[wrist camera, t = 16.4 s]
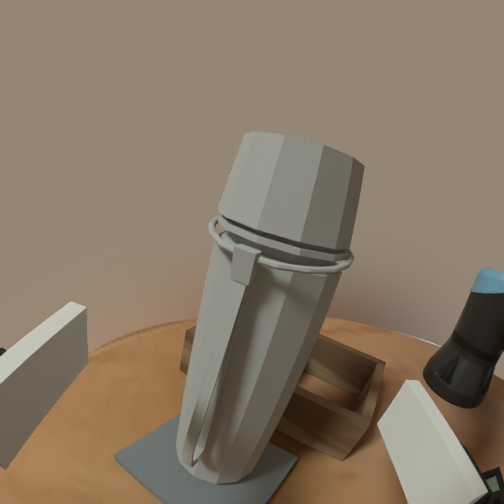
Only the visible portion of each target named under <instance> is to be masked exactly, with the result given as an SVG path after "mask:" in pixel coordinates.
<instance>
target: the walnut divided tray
mask: <svg viewBox="0 0 504 504" xmlns="http://www.w3.org/2000/svg"><path fill="white" fill-rule="evenodd" d="M195 331H196V326H195V327H193V328H190V329H188V330H186V335H185V340H184V346H183V352H182V358H181V364H180V370H181V371H182V372H184V373H185V374H187V373H188V368H189V362H190V357H191V351H192V346H193V341H194V336H195ZM385 364H386V362H384V361H382V360H380V359H377V358H375V357H372V356H370V355H368V354H365V353H363V352H360V351H358V350H356V349H353V348H351V347H349V346H346V345H344V344H342V343H340V342H337V341H335V340H333V339H330V338H328V337H326V336H324V335H321V334H319V335H318V337H317V340H316V342H315V344H314V347H313V349H312V351H311V354H310V356H309V358H308V361H307V363H306V365H305V368H304V370H303V371H305V372H307V373H309V374H311V375H313V376H315V377H318V378H320V379H322V380H324V381H326V382H328V383H331V384H333V385H335V386H337V387H340V388H342V389H344V390H346V391H349V392H351V393H353V394H356V395H358V399H357V402H356V404H355V407H354V409H353V411H351V410H349V409H346V408H344V407H342V406H339V405H337V404H335V403H333V402H331V401H328V400H326V399H324V398H322V397H320V396H318V395H315V394H313V393H311V392H309V391H307V390H305V389H303V388H301V387H299V386H297V385H296V387H295V390H294V392H293V394H292V396H291V398H290V400H289V402H288V404H287V406H286V408H285V410H284V412H283V414H282V416H281V418H280V420H279V422H278V424H277V426H276V428H275V430H277V431H279V432H281V433H283V434H285V435H287V436H289V437H291V438H293V439H295V440H297V441H299V442H301V443H303V444H305V445H307V446H309V447H311V448H313V449H316V450H318V451H320V452H322V453H324V454H327V455H329V456H331V457H334V458H336V459H338V460H341V461H343V460H344V458H345V457H346V456H347V455H348V454H349V452H350V451H351V450H352V449H353V447H354V446H355V445H356V444H357V442H358V441H359V440H360V438H361V437H362V436H363V434H364V433H365V432H366V430H367V429H368V428H369V426H370V423H371V420H372V416H373V413H374V409H375V406H376V402H377V398H378V394H379V390H380V386H381V382H382V377H383V373H384V368H385Z"/></svg>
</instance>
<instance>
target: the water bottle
mask: <svg viewBox="0 0 504 504" xmlns="http://www.w3.org/2000/svg"><path fill="white" fill-rule="evenodd" d="M363 173H364V165H363V164H361V163H360V162H359V161H357V160H356V159H355V158H354V157H351V156H349V155H347V154H345V153H342V152H340V151H338V150H335V149H333V148H330V147H327V146H325V145H322V144H319V143H315V142H312V141H308V140H304V139H300V138H296V137H293V136H289V135H284V134H277V133H268V132H259V131H254V132H250V133H246V134H245V136H244V138H243V141H242V144H241V146H240V149H239V152H238V155H237V157H236V160H235V162H234V165H233V168H232V171H231V173H230V176H229V179H228V182H227V185H226V187H225V190H224V193H223V196H222V199H221V202H220V205H219V207H218V211H219V212H220V213H222V214H223V215H220V216H217V217H215V218H214V219H213V220H212V221H211V222H210V223H209V225H208V226H209V233H210V236H211V237H212V238H213V240H214V241H215V242H214V246H213V250H212V255H211V259H210V264H209V268H208V273H207V277H206V282H205V287H204V291H203V297H202V301H201V306H200V311H199V316H198V321H197V326H196V331H195V336H194V341H193V346H192V351H191V357H190V362H189V368H188V373H187V379H186V385H185V390H184V396H183V402H182V408H181V414H180V421H179V427H178V433H177V440H176V449H177V454H178V459H179V462H180V463H181V464H182V465H183V466H184V467H185V469H186V470H187V471H188V472H189V473H190V474H192V475H193V476H194V477H196V478H199V479H202V480H205V481H207V482H210V483H213V484H223V483H232V482H238V481H239V480H241V479H242V478H243V477H245V476H246V475H248V474H249V473H250V472H252V470H253V469H254V467H255V465H256V463H257V462H258V460H259V458H260V456H261V454H262V453H263V451H264V449H265V447H266V445H267V443H268V442H269V440H270V438H271V436H272V434H273V432H274V430H275V428H276V426H277V424H278V422H279V420H280V418H281V416H282V414H283V412H284V410H285V408H286V406H287V404H288V402H289V400H290V398H291V396H292V394H293V392H294V390H295V387H296V385H297V383H298V381H299V379H300V377H301V374H302V372H303V370H304V368H305V365H306V363H307V361H308V358H309V356H310V354H311V351H312V349H313V347H314V344H315V342H316V340H317V337H318V335H319V332H320V330H321V327H322V325H323V322H324V320H325V317H326V314H327V312H328V309H329V306H330V304H331V301H332V298H333V296H334V293H335V290H336V288H337V285H338V282H339V279H340V276H341V274H342V272H341V271H342V270H344V269H347V268H349V266H350V265H351V263H352V261H353V259H354V256H353V254H352V252H351V251H350V249H349V248H350V243H351V238H352V234H353V229H354V224H355V218H356V213H357V208H358V203H359V197H360V191H361V185H362V179H363ZM218 222H219V223H220V224H221V225H222V226H223V227H224V228H225V229H226V230H228V231H224V232H222V233H220V234H218V233H217V232H216V229H215V226H216V224H217V223H218ZM341 260H346V261H345V262H344V263H342V264H339V265H338V264H337V263H336V262H335V261H341Z"/></svg>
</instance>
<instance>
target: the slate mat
mask: <svg viewBox="0 0 504 504" xmlns="http://www.w3.org/2000/svg"><path fill="white" fill-rule="evenodd" d="M180 414H181V413H180ZM180 414H179V415H177V416H176V417H174V418H173V419H171V420H170V421H168V422H167V423H165V424H164V425H162V426H161V427H159V428H157V429H156V430H154V431H153V432H151V433H149V434H148V435H146V436H145V437H143V438H141V439H140V440H138V441H136V442H135V443H133V444H131V445H130V446H128V447H126V448H124V449H123V450H121V451H119V452H118V453H116V454H114V458H115V460H116V461H117V462H118V463H119V464H120V465H121V466H122V467H123V468H124V469H125V470H126V471H127V472H128V473H130V474H131V475H132V476H133V477H134V478H135V479H136V480H137V481H138V482H139V483H140V484H142V485H143V486H144V487H145V488H146V489H147V490H148V491H150V492H151V493H152V494H153V495H154V496H156V497H157V498H158V499H159V500H161V501H162V502H163V503H164V504H265V503H266V502H267V501H268V500H269V498H270V497H271V496H272V494H273V493H274V492H275V490H276V489H277V487H278V486H279V485H280V483H281V482H282V481H283V479H284V478H285V476H286V475H287V473H288V472H289V470H290V469H291V468H292V466H293V465H294V463H295V462H296V460H297V458H298V457H297V456H295V455H293V454H291V453H289V452H287V451H285V450H283V449H281V448H279V447H277V446H275V445H273V444H272V443H270V442H268V443H267V445H266V447H265V449H264V451H263V453H262V454H261V456H260V458H259V460H258V462H257V463H256V465H255V467H254V469H253V470H252V472H250V473H249V474H248V475H246V476H245V477H243V478H242V479H241V480H239V481H238V482H232V483H223V484H213V483H210V482H207V481H205V480H202V479H199V478H196V477H194V476H193V475H192V474H190V473H189V472H188V471H187V470H186V469H185V467H184V466H183V465H182V464H181V463H180V462H179V459H178V454H177V449H176V440H177V433H178V427H179V421H180Z"/></svg>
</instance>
